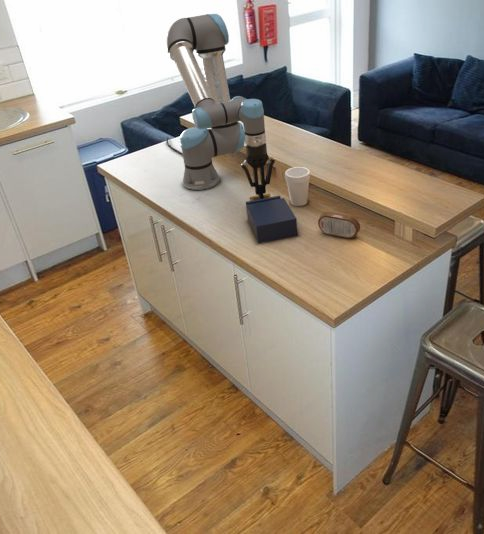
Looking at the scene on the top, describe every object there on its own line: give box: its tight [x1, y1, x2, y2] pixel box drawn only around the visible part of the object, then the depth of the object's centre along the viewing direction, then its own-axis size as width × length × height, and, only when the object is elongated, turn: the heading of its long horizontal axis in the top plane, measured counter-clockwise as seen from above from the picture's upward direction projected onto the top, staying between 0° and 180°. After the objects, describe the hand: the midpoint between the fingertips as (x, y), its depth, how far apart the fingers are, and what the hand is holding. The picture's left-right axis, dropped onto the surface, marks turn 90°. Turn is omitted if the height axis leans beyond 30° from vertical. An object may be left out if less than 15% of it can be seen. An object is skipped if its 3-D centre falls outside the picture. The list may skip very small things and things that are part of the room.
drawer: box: [245, 192, 282, 211], centre depth 211 cm, size 22×13×5 cm, turn 16°
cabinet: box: [245, 197, 299, 244], centre depth 205 cm, size 17×15×7 cm
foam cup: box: [284, 166, 311, 207], centre depth 218 cm, size 10×9×13 cm
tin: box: [317, 211, 361, 239], centre depth 197 cm, size 15×3×8 cm, turn 65°
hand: (261, 201), depth 217 cm, fingers closed
